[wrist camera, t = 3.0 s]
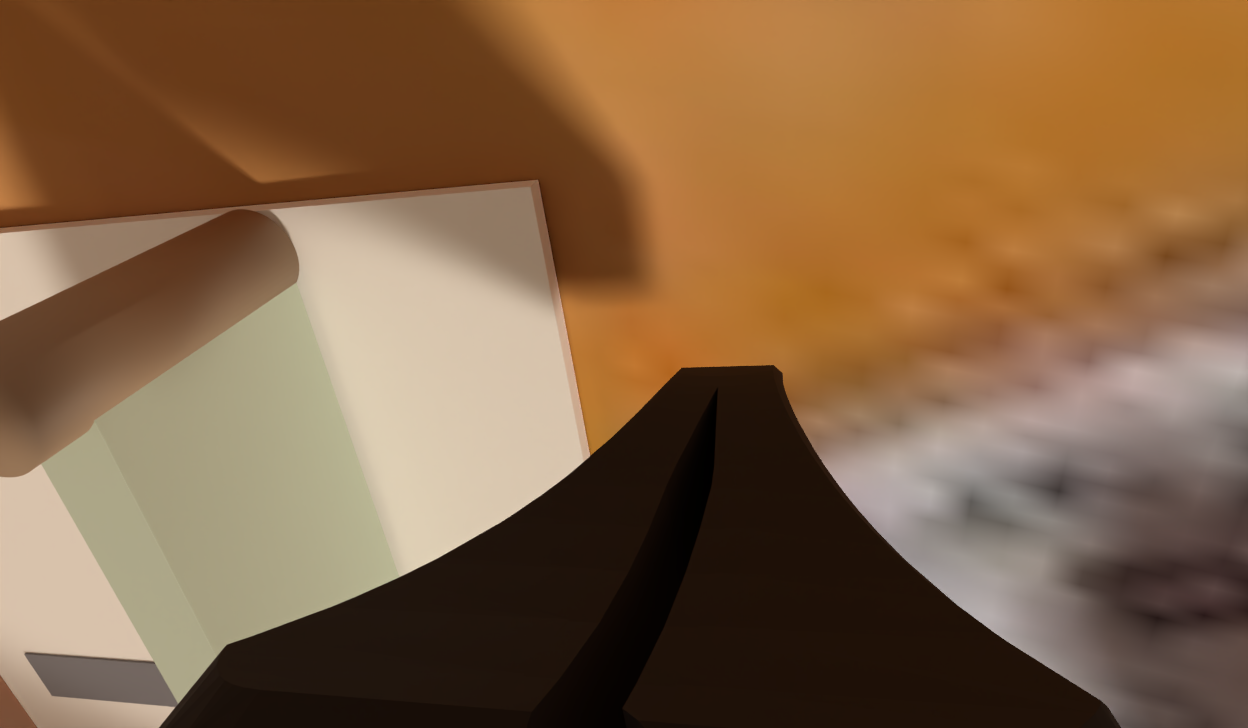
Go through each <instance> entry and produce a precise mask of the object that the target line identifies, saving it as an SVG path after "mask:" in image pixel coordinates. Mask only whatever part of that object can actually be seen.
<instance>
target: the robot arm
mask: <svg viewBox="0 0 1248 728" xmlns="http://www.w3.org/2000/svg"><path fill="white" fill-rule="evenodd" d="M159 728H1121V727H1120V725H1119V724H1118V722H1117V721H1116V719H1115V718H1114V716H1113V715H1112V713H1111V712H1110V710H1109V708H1108V707H1107V706H1106V705H1105V704H1104V703H1103V702H1102V701H1100V700H1099V699H1097V698H1096V697H1094V696H1092V695H1091V694H1089V693H1088V692H1086V691H1084V690H1083V689H1081V688H1080V687H1078V686H1077V685H1075V684H1073V683H1072V682H1070V681H1069V680H1067V679H1065V678H1064V677H1062V676H1061V675H1059V674H1058V673H1056V672H1054V671H1053V670H1051V669H1050V668H1048V667H1046V666H1045V665H1043V664H1042V663H1040V662H1038V661H1037V660H1035V659H1034V658H1032V657H1031V656H1029V655H1027V654H1026V653H1024V652H1023V651H1021V650H1019V649H1018V648H1016V647H1015V646H1013V645H1012V644H1010V643H1008V642H1007V641H1005V640H1004V639H1002V638H1001V637H1000V636H998V635H997V634H995V633H994V632H993V631H991V630H990V629H988V628H987V627H986V626H984V625H983V624H982V623H980V622H979V621H978V620H976V619H975V618H974V617H972V616H971V615H970V614H968V613H967V612H966V611H964V610H963V609H962V608H960V607H959V606H958V605H956V604H955V603H954V602H953V601H952V600H950V599H949V598H948V597H947V596H946V595H945V594H944V593H942V592H941V591H940V590H939V589H938V588H937V587H935V586H934V585H933V584H932V583H931V582H930V581H929V580H927V579H926V578H925V577H924V576H923V575H922V574H921V573H919V572H918V571H917V570H916V569H915V568H914V567H912V566H911V565H910V564H909V563H908V562H907V561H906V560H905V559H904V558H903V557H902V556H901V555H900V554H899V553H898V552H897V551H896V550H895V549H894V548H893V547H892V546H891V545H890V544H889V543H888V542H887V541H886V540H885V539H884V538H883V537H882V536H881V535H880V534H879V533H878V532H877V531H876V530H875V529H874V527H873V526H872V525H871V524H870V523H869V522H868V521H867V520H866V518H865V517H864V516H863V515H862V514H861V513H860V512H859V511H858V509H857V508H856V507H855V506H854V504H853V503H852V502H851V501H850V500H849V498H848V497H847V496H846V494H845V493H844V492H843V491H842V489H841V488H840V487H839V485H838V484H837V482H836V481H835V480H834V478H833V477H832V475H831V474H830V473H829V471H828V470H827V468H826V467H825V466H824V464H823V463H822V461H821V459H820V458H819V456H818V455H817V453H816V452H815V450H814V449H813V447H812V445H811V443H810V442H809V440H808V438H807V436H806V435H805V433H804V431H803V429H802V428H801V426H800V424H799V422H798V420H797V418H796V416H795V414H794V412H793V410H792V407H791V405H790V403H789V400H788V398H787V395H786V392H785V389H784V385H783V375H782V372H780V371H779V370H778V369H777V368H776V367H775V366H774V365H766V366H730V367H695V368H681V369H680V370H679V371H678V372H677V373H676V374H675V375H674V376H673V377H672V378H671V379H670V380H669V381H668V382H667V383H666V384H665V385H664V386H663V387H662V388H661V389H660V390H659V391H658V392H657V393H656V394H655V395H654V396H653V397H652V398H651V399H650V400H649V401H648V403H647V404H646V405H645V406H644V407H643V408H642V409H641V410H640V411H639V412H638V413H637V414H636V415H635V416H634V417H633V418H632V419H631V420H630V421H629V422H628V423H626V424H625V425H624V426H623V427H622V428H621V429H620V430H619V431H618V432H617V433H616V434H615V435H614V436H613V437H612V438H611V439H610V440H608V441H607V442H606V443H605V444H604V445H603V446H601V447H600V448H599V449H598V450H597V451H596V452H594V453H593V454H592V455H591V456H590V457H589V458H587V459H586V460H585V461H584V462H583V463H582V464H581V465H579V466H578V467H577V468H576V469H575V470H574V471H572V472H571V473H570V474H569V475H567V476H566V477H565V478H564V479H562V480H561V481H560V482H558V483H557V484H556V485H554V486H553V487H552V488H550V489H549V490H548V491H546V492H545V493H544V494H542V495H541V496H539V497H538V498H536V499H535V500H533V501H532V502H531V503H529V504H528V505H526V506H525V507H523V508H522V509H520V510H519V511H517V512H516V513H514V514H513V515H511V516H510V517H508V518H507V519H505V520H504V521H502V522H500V523H499V524H497V525H495V526H493V527H492V528H490V529H488V530H486V531H485V532H483V533H481V534H479V535H478V536H476V537H474V538H472V539H471V540H469V541H467V542H465V543H464V544H462V545H460V546H458V547H457V548H455V549H453V550H451V551H450V552H448V553H446V554H444V555H443V556H441V557H439V558H437V559H435V560H433V561H431V562H429V563H427V564H425V565H423V566H421V567H419V568H417V569H415V570H413V571H411V572H409V573H407V574H405V575H403V576H401V577H399V578H396V579H394V580H392V581H390V582H388V583H385V584H383V585H381V586H379V587H376V588H374V589H372V590H370V591H367V592H365V593H363V594H361V595H358V596H356V597H354V598H351V599H349V600H346V601H344V602H342V603H339V604H337V605H334V606H332V607H329V608H327V609H324V610H321V611H319V612H316V613H313V614H311V615H308V616H305V617H302V618H300V619H297V620H294V621H292V622H289V623H286V624H283V625H281V626H278V627H275V628H273V629H270V630H267V631H265V632H262V633H259V634H256V635H254V636H251V637H248V638H245V639H242V640H239V641H236V642H233V643H230V644H227V645H226V646H225V647H224V648H223V650H222V651H221V652H220V653H219V654H218V656H217V657H216V658H215V659H214V660H213V662H212V663H211V664H210V665H209V667H208V668H207V669H206V670H205V671H204V673H203V674H202V675H201V676H200V678H199V679H198V680H197V681H196V683H195V684H194V685H193V686H192V687H191V689H190V690H189V691H188V692H187V694H186V695H185V696H184V697H183V699H182V700H181V701H180V702H179V703H178V705H177V706H176V707H175V708H174V710H173V711H172V712H171V713H170V715H169V716H168V717H167V718H166V719H165V721H164V722H163V723H162V724H161V726H160V727H159Z"/></svg>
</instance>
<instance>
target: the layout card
mask: <svg viewBox="0 0 1248 728" xmlns="http://www.w3.org/2000/svg"><path fill="white" fill-rule="evenodd" d="M237 209H246V210H252V211H256V212H258V213H261V214H263V215H265V216H267V217H268V218H270V219H271V220H273V221H274V222H275V223H276V224H278V225H279V226H280V227H281V228H282V229H283V230H284V232H285V233H286V234H287V235H288V237H289V238H290V240H291V241H292V243H293V245H294V247H295V250H296V252H297V256H298V260H299V276H298V280H297V282H296V283H297V286H298V289H299V291H300V294H301V297H302V300H303V303H304V306H305V309H306V311H307V314H308V317H309V320H310V323H311V326H312V329H313V331H314V334H315V337H316V340H317V343H318V346H319V349H320V351H321V354H322V357H323V360H324V363H325V366H326V369H327V372H328V374H329V377H330V380H331V383H332V386H333V389H334V392H335V394H336V397H337V400H338V403H339V406H340V409H341V412H342V414H343V417H344V420H345V423H346V426H347V429H348V432H349V434H350V437H351V440H352V443H353V446H354V449H355V452H356V454H357V457H358V460H359V463H360V466H361V469H362V472H363V475H364V477H365V480H366V483H367V486H368V489H369V492H370V495H371V497H372V500H373V503H374V506H375V509H376V512H377V515H378V517H379V520H380V523H381V526H382V529H383V532H384V535H385V537H386V540H387V543H388V546H389V549H390V552H391V555H392V557H393V560H394V563H395V566H396V569H397V572H398V575H399V577H401V576H403V575H405V574H407V573H409V572H411V571H413V570H415V569H417V568H419V567H421V566H423V565H425V564H427V563H429V562H431V561H433V560H435V559H437V558H439V557H441V556H443V555H444V554H446V553H448V552H450V551H451V550H453V549H455V548H457V547H458V546H460V545H462V544H464V543H465V542H467V541H469V540H471V539H472V538H474V537H476V536H478V535H479V534H481V533H483V532H485V531H486V530H488V529H490V528H492V527H493V526H495V525H497V524H499V523H500V522H502V521H504V520H505V519H507V518H508V517H510V516H511V515H513V514H514V513H516V512H517V511H519V510H520V509H522V508H523V507H525V506H526V505H528V504H529V503H531V502H532V501H533V500H535V499H536V498H538V497H539V496H541V495H542V494H544V493H545V492H546V491H548V490H549V489H550V488H552V487H553V486H554V485H556V484H557V483H558V482H560V481H561V480H562V479H564V478H565V477H566V476H567V475H569V474H570V473H571V472H572V471H574V470H575V469H576V468H577V467H578V466H579V465H581V464H582V463H583V462H584V461H585V460H586V459H587V458H589V457H590V453H589V448H588V442H587V437H586V432H585V426H584V421H583V416H582V410H581V405H580V400H579V394H578V389H577V384H576V378H575V373H574V368H573V362H572V357H571V352H570V346H569V341H568V336H567V330H566V325H565V320H564V314H563V309H562V304H561V299H560V293H559V288H558V283H557V277H556V272H555V267H554V261H553V256H552V251H551V245H550V240H549V235H548V229H547V224H546V219H545V213H544V208H543V203H542V197H541V192H540V187H539V181H538V180H529V181H518V182H507V183H495V184H484V185H473V186H462V187H451V188H440V189H429V190H418V191H407V192H395V193H384V194H373V195H362V196H351V197H340V198H329V199H318V200H306V201H295V202H284V203H273V204H262V205H251V206H240V207H229V208H218V209H206V210H195V211H184V212H173V213H162V214H151V215H140V216H129V217H117V218H106V219H95V220H84V221H73V222H62V223H51V224H40V225H29V226H17V227H6V228H0V321H1V320H3V319H5V318H7V317H9V316H11V315H13V314H15V313H17V312H20V311H22V310H24V309H26V308H28V307H30V306H32V305H34V304H36V303H38V302H40V301H43V300H45V299H47V298H49V297H51V296H53V295H55V294H57V293H59V292H61V291H63V290H66V289H68V288H70V287H72V286H74V285H76V284H78V283H80V282H82V281H84V280H86V279H89V278H91V277H93V276H95V275H97V274H99V273H101V272H103V271H105V270H107V269H110V268H112V267H114V266H116V265H118V264H120V263H122V262H124V261H126V260H128V259H130V258H133V257H135V256H137V255H139V254H141V253H143V252H145V251H147V250H149V249H151V248H153V247H156V246H158V245H160V244H162V243H164V242H166V241H168V240H170V239H172V238H174V237H177V236H179V235H181V234H183V233H185V232H187V231H189V230H191V229H193V228H195V227H197V226H200V225H202V224H204V223H206V222H208V221H210V220H212V219H214V218H216V217H218V216H220V215H223V214H225V213H227V212H229V211H232V210H237ZM0 675H1V677H2V678H3V680H4V681H5V683H6V684H7V685H8V687H9V688H10V690H11V691H12V692H13V694H14V695H15V697H16V698H17V700H18V701H19V702H20V704H21V705H22V707H23V708H24V710H25V711H26V712H27V714H28V715H29V717H30V718H31V719H32V721H33V722H34V724H35V725H36V727H37V728H159V727H160V726H161V724H162V723H163V722H164V721H165V719H166V718H167V717H168V716H169V715H170V713H171V712H172V711H173V710H174V708H175V707H176V706H177V705H178V703H177V701H176V699H175V697H174V696H173V694H172V692H171V690H170V689H169V687H168V685H167V683H166V682H165V680H164V678H163V676H162V675H161V673H160V671H159V669H158V668H157V666H156V664H155V662H154V661H153V659H152V657H151V655H150V654H149V652H148V650H147V648H146V647H145V645H144V643H143V641H142V640H141V638H140V636H139V634H138V633H137V631H136V629H135V627H134V626H133V624H132V622H131V620H130V619H129V617H128V615H127V613H126V612H125V610H124V608H123V606H122V605H121V603H120V601H119V599H118V598H117V596H116V594H115V592H114V591H113V589H112V587H111V585H110V584H109V582H108V580H107V578H106V577H105V575H104V573H103V571H102V570H101V568H100V566H99V564H98V563H97V561H96V559H95V557H94V556H93V554H92V552H91V550H90V549H89V547H88V545H87V543H86V542H85V540H84V538H83V536H82V535H81V533H80V531H79V529H78V528H77V526H76V524H75V522H74V521H73V519H72V517H71V515H70V514H69V512H68V510H67V508H66V507H65V505H64V503H63V501H62V500H61V498H60V496H59V494H58V493H57V491H56V489H55V487H54V486H53V484H52V482H51V480H50V479H49V477H48V475H47V474H46V472H45V470H44V468H43V467H42V465H41V464H40V465H39V466H37V467H36V468H35V469H33V470H32V471H30V472H29V473H27V474H25V475H23V476H19V477H10V478H9V477H0Z"/></svg>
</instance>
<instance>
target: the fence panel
mask: <svg viewBox="0 0 1248 728" xmlns="http://www.w3.org/2000/svg"><path fill="white" fill-rule="evenodd" d="M298 276H299V260H298V256H297V252H296V250H295V247H294V245H293V243H292V241H291V240H290V238H289V237H288V235H287V234H286V233H285V232H284V230H283V229H282V228H281V227H280V226H279V225H278V224H276V223H275V222H274V221H273V220H271V219H270V218H268V217H267V216H265V215H263V214H261V213H258V212H256V211H252V210H246V209H237V210H232V211H229V212H227V213H225V214H223V215H220V216H218V217H216V218H214V219H212V220H210V221H208V222H206V223H204V224H202V225H200V226H197V227H195V228H193V229H191V230H189V231H187V232H185V233H183V234H181V235H179V236H177V237H174V238H172V239H170V240H168V241H166V242H164V243H162V244H160V245H158V246H156V247H153V248H151V249H149V250H147V251H145V252H143V253H141V254H139V255H137V256H135V257H133V258H130V259H128V260H126V261H124V262H122V263H120V264H118V265H116V266H114V267H112V268H110V269H107V270H105V271H103V272H101V273H99V274H97V275H95V276H93V277H91V278H89V279H86V280H84V281H82V282H80V283H78V284H76V285H74V286H72V287H70V288H68V289H66V290H63V291H61V292H59V293H57V294H55V295H53V296H51V297H49V298H47V299H45V300H43V301H40V302H38V303H36V304H34V305H32V306H30V307H28V308H26V309H24V310H22V311H20V312H17V313H15V314H13V315H11V316H9V317H7V318H5V319H3V320H1V321H0V477H9V478H10V477H19V476H23V475H25V474H27V473H29V472H30V471H32V470H33V469H35V468H36V467H37V466H39V465H40V464H41V465H42V467H43V468H44V470H45V472H46V474H47V475H48V477H49V479H50V480H51V482H52V484H53V486H54V487H55V489H56V491H57V493H58V494H59V496H60V498H61V500H62V501H63V503H64V505H65V507H66V508H67V510H68V512H69V514H70V515H71V517H72V519H73V521H74V522H75V524H76V526H77V528H78V529H79V531H80V533H81V535H82V536H83V538H84V540H85V542H86V543H87V545H88V547H89V549H90V550H91V552H92V554H93V556H94V557H95V559H96V561H97V563H98V564H99V566H100V568H101V570H102V571H103V573H104V575H105V577H106V578H107V580H108V582H109V584H110V585H111V587H112V589H113V591H114V592H115V594H116V596H117V598H118V599H119V601H120V603H121V605H122V606H123V608H124V610H125V612H126V613H127V615H128V617H129V619H130V620H131V622H132V624H133V626H134V627H135V629H136V631H137V633H138V634H139V636H140V638H141V640H142V641H143V643H144V645H145V647H146V648H147V650H148V652H149V654H150V655H151V657H152V659H153V661H154V662H155V664H156V666H157V668H158V669H159V671H160V673H161V675H162V676H163V678H164V680H165V682H166V683H167V685H168V687H169V689H170V690H171V692H172V694H173V696H174V697H175V699H176V701H177V703H179V702H180V701H181V700H182V699H183V697H184V696H185V695H186V694H187V692H188V691H189V690H190V689H191V687H192V686H193V685H194V684H195V683H196V681H197V680H198V679H199V678H200V676H201V675H202V674H203V673H204V671H205V670H206V669H207V668H208V667H209V665H210V664H211V663H212V662H213V660H214V659H215V658H216V657H217V656H218V654H219V653H220V652H221V651H222V650H223V648H224V647H225V646H226V645H227V644H230V643H233V642H236V641H239V640H242V639H245V638H248V637H251V636H254V635H256V634H259V633H262V632H265V631H267V630H270V629H273V628H275V627H278V626H281V625H283V624H286V623H289V622H292V621H294V620H297V619H300V618H302V617H305V616H308V615H311V614H313V613H316V612H319V611H321V610H324V609H327V608H329V607H332V606H334V605H337V604H339V603H342V602H344V601H346V600H349V599H351V598H354V597H356V596H358V595H361V594H363V593H365V592H367V591H370V590H372V589H374V588H376V587H379V586H381V585H383V584H385V583H388V582H390V581H392V580H394V579H396V578H399V575H398V572H397V569H396V566H395V563H394V560H393V557H392V555H391V552H390V549H389V546H388V543H387V540H386V537H385V535H384V532H383V529H382V526H381V523H380V520H379V517H378V515H377V512H376V509H375V506H374V503H373V500H372V497H371V495H370V492H369V489H368V486H367V483H366V480H365V477H364V475H363V472H362V469H361V466H360V463H359V460H358V457H357V454H356V452H355V449H354V446H353V443H352V440H351V437H350V434H349V432H348V429H347V426H346V423H345V420H344V417H343V414H342V412H341V409H340V406H339V403H338V400H337V397H336V394H335V392H334V389H333V386H332V383H331V380H330V377H329V374H328V372H327V369H326V366H325V363H324V360H323V357H322V354H321V351H320V349H319V346H318V343H317V340H316V337H315V334H314V331H313V329H312V326H311V323H310V320H309V317H308V314H307V311H306V309H305V306H304V303H303V300H302V297H301V294H300V291H299V289H298V286H297V283H296V282H297V280H298Z"/></svg>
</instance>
